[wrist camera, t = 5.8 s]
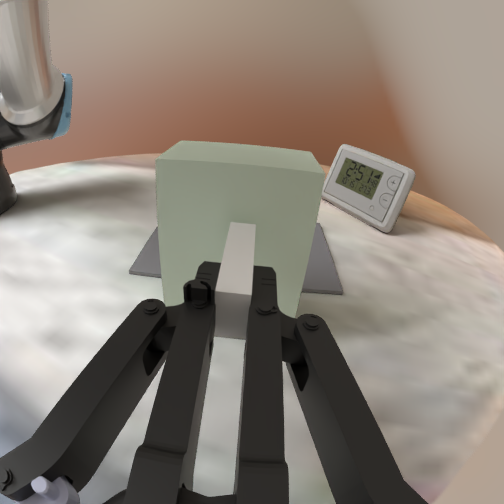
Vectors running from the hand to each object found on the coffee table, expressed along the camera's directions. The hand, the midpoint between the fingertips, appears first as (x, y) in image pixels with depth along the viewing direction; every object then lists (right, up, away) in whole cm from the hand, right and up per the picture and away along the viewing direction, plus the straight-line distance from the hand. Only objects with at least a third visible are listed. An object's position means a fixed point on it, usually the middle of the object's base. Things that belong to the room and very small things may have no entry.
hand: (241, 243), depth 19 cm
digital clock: (+19, +6, +32) cm, 37 cm away
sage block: (-1, -6, +8) cm, 10 cm away
